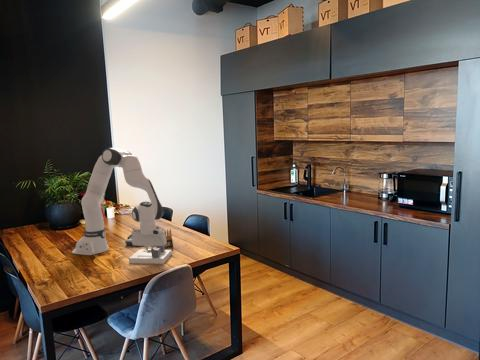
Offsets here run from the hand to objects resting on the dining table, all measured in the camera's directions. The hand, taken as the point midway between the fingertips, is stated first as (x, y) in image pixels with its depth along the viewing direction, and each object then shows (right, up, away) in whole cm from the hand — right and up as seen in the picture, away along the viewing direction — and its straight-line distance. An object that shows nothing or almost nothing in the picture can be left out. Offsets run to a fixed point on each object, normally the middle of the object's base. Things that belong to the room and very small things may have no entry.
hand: (149, 252), depth 219 cm
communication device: (-11, -1, +34) cm, 36 cm away
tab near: (+4, -2, 0) cm, 4 cm away
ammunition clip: (+4, -2, +23) cm, 23 cm away
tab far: (+5, -1, +8) cm, 9 cm away
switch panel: (0, -5, +5) cm, 7 cm away
